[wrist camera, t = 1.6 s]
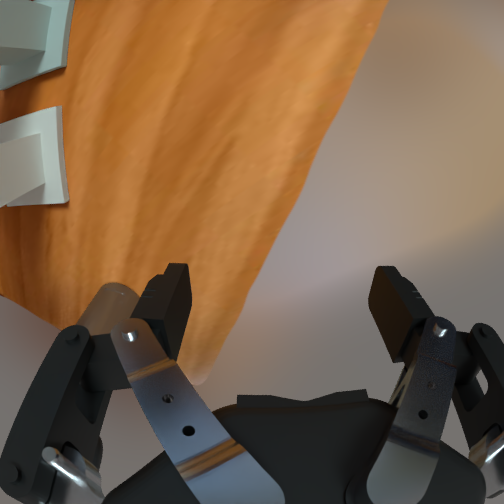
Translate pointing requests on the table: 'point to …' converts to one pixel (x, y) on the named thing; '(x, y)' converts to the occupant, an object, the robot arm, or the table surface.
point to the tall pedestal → (33, 160)
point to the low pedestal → (33, 38)
